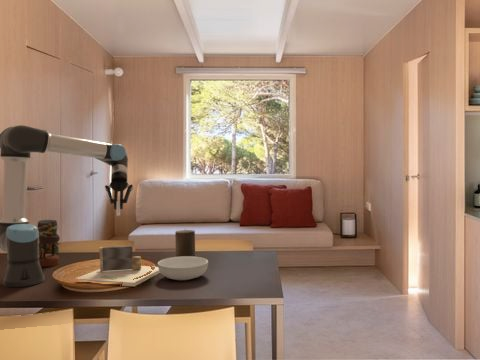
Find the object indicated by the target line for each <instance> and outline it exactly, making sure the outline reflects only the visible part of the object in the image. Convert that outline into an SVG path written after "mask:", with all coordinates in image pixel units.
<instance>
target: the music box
mask: <svg viewBox="0 0 480 360" xmlns="http://www.w3.org/2000/svg"><path fill="white" fill-rule="evenodd" d="M51 227H52V224H50V223H49V224H47V225H44V226H42V227H40V228H39V229H38V228H37V229H38V233H39V232H40V231H42V235H40V236H39V235H38V245H39V246H43V248H42V249H41V252H40V251H39V263H40V266H41V268H42V267H43V268H44V267H45V268H47V267H55V266H58V265H59V264H60V256H59V255H58V254H54V249H56V248H57V249H58V248H59V245H60V239H61V237H60V235H59V233H57V234H52V232H50V233H49V232H47V234H43V231H47V230H48V229H50V230H51ZM39 242H40V243H41V244H39ZM57 242H58V243H57ZM55 243H57V244H58V246H57V244H55ZM46 244H47V249H46ZM49 244H50V245H49ZM51 245H52V248H51ZM54 246H55V247H54ZM51 249H52V254H46V253H47V252H46V250H47V251H48V252H51Z"/></svg>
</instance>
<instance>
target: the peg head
mask: <svg viewBox="0 0 480 360" xmlns="http://www.w3.org/2000/svg"><path fill="white" fill-rule="evenodd" d="M98 250H99V269H100V272H103V271H114V270H130V269H133V270H138V269H141V266H142V257H141V256H137V255H136V256H133V255H134V254H133V251H134V250H133V245H122V246H121V245H120V246H100V247H98Z"/></svg>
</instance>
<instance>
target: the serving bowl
mask: <svg viewBox="0 0 480 360" xmlns="http://www.w3.org/2000/svg"><path fill="white" fill-rule="evenodd" d="M157 267H158V268H159V271H160V273H159V274H161V275H162V276H164V277H165V278H167V279H171V280H173V281H174V280H175V281H188V280H193V279H195V278H199V277H200V276H202V275H203V274H205V272H206V271H207V269H208V267H209V260H208V259H207V258H204V257H200V256H195V257H194V256H181V257H176V256H173V257H166V258H163V259H161V260H159V261H158V262H157Z"/></svg>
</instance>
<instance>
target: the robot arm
mask: <svg viewBox="0 0 480 360" xmlns="http://www.w3.org/2000/svg"><path fill="white" fill-rule="evenodd" d="M46 152H51V153H56V154H63V155H64V154H66V155H71V156H72V155H73V156H80V157H88V158H94V159H96V160H99V161H101V162H103V163H105V164H107V165H109V166H110V167H111V178H110V183H109V185H104V189H105V191H106V193H107V194H108V198H109V203H110V204H111V205H112V204H113V209H114V210H116V211H115V213H116V214H115V215H116V217H121V210H123V208H124V204H127V203H128V200H129V198H130V194H131V192H132V191H133V188H134V187H133V184H129V182H128V162H129V157H128V153H127V151H126V148H125V146H124V145H122V144H119V143H109V142H105V141H103V142H102V141H97V140H91V139H85V138H79V137H73V136H67V135H60V134H56V133H55V134H54V133H50V132H49V131H48V130H45V129H40V128H37V127H32V126H29V125H22V124H21V125H14V126H9V127H7V128H5V129H3V130H2V131H1V132H0V159H2V160H3V162H4V163H3V166H4V167H3V195H2V196H3V198H2V202H3V203H2V217H1V219H0V249H1V250H2V251H4V252H6V253H7V267H6V271H5V275H4V278H3V286H5V287H7V288H21V287H29V286H34V285H39V284H40V283H42V282H45V273H44V272H43V270H42V267H41V266H40V263H39V245H38V243H39V231H38V226H36V225H34V224H31V223H30V221H29V220H28V218H26V194H27V193H26V188H27V187H26V186H27V162H29V161H30V159H31V153H40V154H45V153H46ZM111 189H112V190H113V191H114V196H113V195H112V192H111ZM125 190H126V192H125V195H124V191H125ZM118 194H119V200H118ZM113 197H114V198H113Z"/></svg>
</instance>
